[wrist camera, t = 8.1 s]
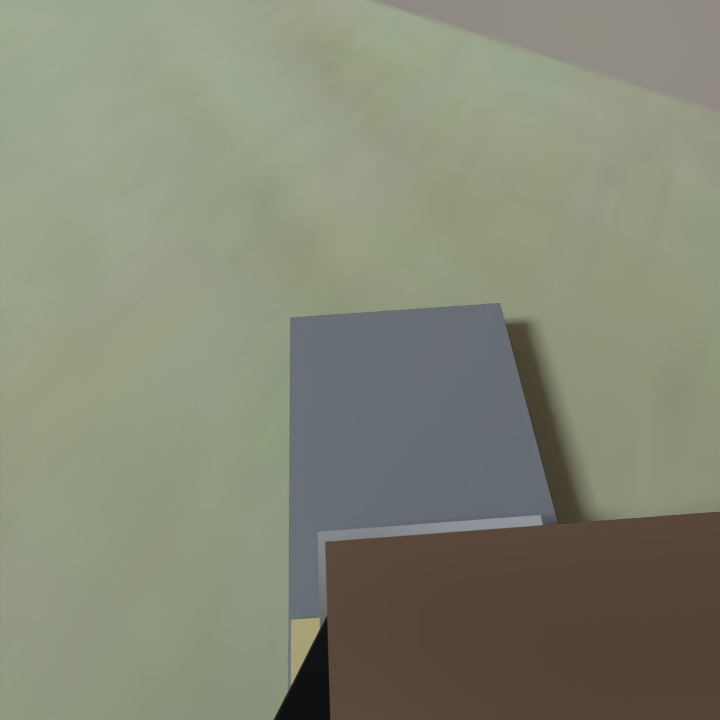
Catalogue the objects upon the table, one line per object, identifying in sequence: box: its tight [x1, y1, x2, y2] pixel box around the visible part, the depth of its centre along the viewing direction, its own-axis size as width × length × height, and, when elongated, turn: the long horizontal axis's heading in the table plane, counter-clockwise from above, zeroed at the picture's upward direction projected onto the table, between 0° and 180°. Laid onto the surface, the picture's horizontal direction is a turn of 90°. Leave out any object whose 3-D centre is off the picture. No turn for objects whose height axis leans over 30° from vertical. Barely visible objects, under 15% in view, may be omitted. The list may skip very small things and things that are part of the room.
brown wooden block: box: [318, 512, 720, 720], centre depth 7 cm, size 7×6×11 cm
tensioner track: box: [288, 303, 558, 691], centre depth 13 cm, size 18×8×4 cm, turn 4°
